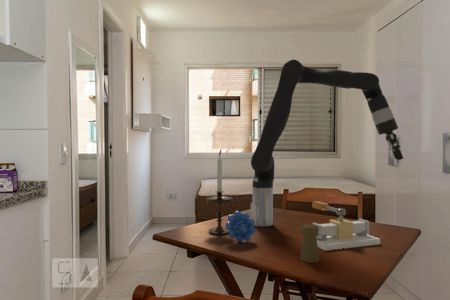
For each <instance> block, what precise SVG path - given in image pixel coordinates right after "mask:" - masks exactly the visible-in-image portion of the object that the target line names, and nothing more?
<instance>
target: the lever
mask: <svg viewBox="0 0 450 300" xmlns="http://www.w3.org/2000/svg"><path fill="white" fill-rule="evenodd" d="M311 205H312V206H311V207H312V208H313V209H316V210H320V211H330V212H334V213H336V215H337V216H339V215H343V216H346V214H347V213H346V208H341V207H340V208H337V207H333V206H329V203H326V202H324V201H319V200H317V201H316V200H314V201H313V200H312V202H311Z"/></svg>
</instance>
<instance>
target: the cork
mask: <svg viewBox="0 0 450 300" xmlns="http://www.w3.org/2000/svg"><path fill="white" fill-rule="evenodd" d="M301 234H302V242H301V250H300V256H299V259H300V261H302V262H305V263H318V262H320V255H319V254H320V253H319V248H318V246H317V238H316V236H317V234H318V228H317V227H316V226H314V225H312V224H304V225H302V227H301Z"/></svg>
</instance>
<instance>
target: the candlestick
mask: <svg viewBox="0 0 450 300" xmlns="http://www.w3.org/2000/svg"><path fill="white" fill-rule="evenodd" d="M221 154H222V149H220V150H219V153H218V159H217V160H216V161H217V163H216V164H217V167H216V169H217V172H216V174H217V175H216V176H217V177H216V178H217V180H216V181H217V182H216V183H217V186H216V189H217V190H216V191H214V193H216V195H214V196H207V197H206V202H208V203H214V204H216V205H217V212H216V218H217V219H216V222H217V226H216V227H213V228H209V229H208V234H209V235H211V236H227V235H229V231H231V230H228V229H227V228H226V227H223V226H222V222H223V219H222V217H223V216H224V213H223V212H222V205H223V204H225V203H226V204H227V203H231V202H233V197H232V196H225V195H223V193H224V192H225V191H223V188H222V187H223V185H222V184H223V159H222V158H221Z"/></svg>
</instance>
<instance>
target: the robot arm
mask: <svg viewBox="0 0 450 300" xmlns="http://www.w3.org/2000/svg"><path fill="white" fill-rule="evenodd" d="M298 84H316V85H324V86H328V87H334V88H339V89H347V90H348V89H349V90H350V89H355V90H361V91H362V94H363V96H364V98H365V99H366V102H367V105H368V108H369V111H370V114H371V118H372V120H373V123H374V126H375V129H376V131H377V133H378V135H380V136H381V135H383V134H385V142H386V143H387V145H388V148H389V149H390V151H391V152H392V154H393V156H394V158H395V160H397V161H401V160H403V159H404V157H403V154H402V151H401V145H400V142H399V140H398V136H397V134H395V132H394V131H396V130H398V129H399V127H398V124H397V121H396V119H395V116H394V113H393V111H392V109H391V108H390V105H389V103H388V99H387V98H386V96H385V95H384V94H383V91H382V89H381V86H380V79H379V76H378V75H377V74H374V73H373V72H372V73H371V72H363V71H361V72H360V71H359V72H358V71H357V72H356V71H348V70H342V69H317V68H313V67H309V66H305V65H303V64H302V63H301V62H300V60H298V59H289V60H288V61H286V62H285V63H284V64H283V66H282V68H281V72H280V76H279V80H278V84H277V88H276V92H275V93H274V96H273V99H272V102H271V105H270V106H269V110H268V111H267V115H266V118H265V121H264V125H263V127H262V131H261V135H260V138H259V142H258V143H257V145H256V148H255V150H254V152H253V154H252V157H251V160H250V166H251V168H252V169H253V171H254V177H253V180H252V202H251V203H250V219H253V220H254V222H255V225H254V226H255V227H261V228H263V227H271V226H273V224H274V222H273V221H274V219H273V217H274V211H273V210H274V208H273V207H274V203H273V202H274V200H273V199H274V198H273V197H274V191H273V190H274V180H275V159H274V156H273V154H274V153H273V152H274V150H275V147H276V144H277V142H278V141H279V139H280V137H281V136H282V133H284V130H285V129H286V125H287V124H288V120H289V118H290V115H291V107H292V103H293V101H292V100H293V96H294V92H295V90H296V87H297V85H298ZM254 226H253V227H254Z"/></svg>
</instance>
